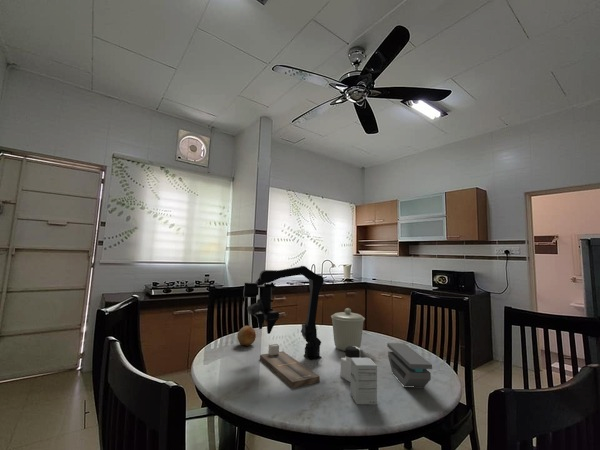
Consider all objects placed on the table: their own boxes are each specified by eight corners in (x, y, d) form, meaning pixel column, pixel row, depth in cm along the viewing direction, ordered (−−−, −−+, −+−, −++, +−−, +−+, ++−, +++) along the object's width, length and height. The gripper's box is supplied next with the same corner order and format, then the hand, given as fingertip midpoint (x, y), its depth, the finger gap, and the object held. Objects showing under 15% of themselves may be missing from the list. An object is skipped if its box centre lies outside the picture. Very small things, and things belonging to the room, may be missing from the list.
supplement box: (349, 394, 100) (350, 357, 102) (370, 394, 101) (370, 357, 102) (355, 405, 93) (356, 365, 94) (377, 404, 93) (377, 365, 95)
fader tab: (276, 352, 135) (276, 343, 135) (278, 354, 132) (279, 345, 133) (268, 353, 133) (268, 344, 133) (270, 355, 130) (271, 346, 131)
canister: (369, 347, 153) (369, 308, 156) (357, 357, 138) (357, 313, 140) (338, 341, 163) (339, 304, 165) (324, 349, 148) (325, 308, 150)
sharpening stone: (387, 368, 125) (387, 342, 126) (404, 368, 125) (404, 343, 127) (410, 396, 100) (410, 364, 102) (432, 396, 101) (431, 364, 102)
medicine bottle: (350, 383, 109) (351, 351, 110) (340, 376, 115) (340, 345, 117) (365, 380, 112) (365, 348, 114) (354, 373, 119) (354, 343, 120)
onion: (233, 347, 147) (234, 327, 148) (242, 341, 157) (243, 323, 158) (250, 349, 144) (251, 329, 146) (258, 343, 154) (259, 325, 155)
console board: (282, 355, 137) (283, 350, 137) (319, 381, 109) (319, 375, 110) (259, 359, 131) (260, 354, 131) (292, 387, 104) (292, 381, 104)
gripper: (242, 295, 137) (241, 328, 135) (257, 301, 121) (256, 338, 120) (263, 294, 143) (262, 326, 141) (280, 299, 127) (279, 335, 125)
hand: (264, 331), depth 132 cm, fingers open, 9 cm apart
